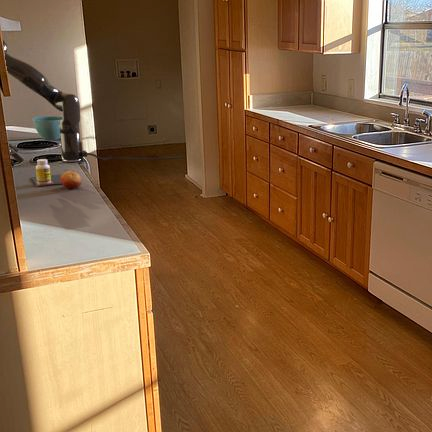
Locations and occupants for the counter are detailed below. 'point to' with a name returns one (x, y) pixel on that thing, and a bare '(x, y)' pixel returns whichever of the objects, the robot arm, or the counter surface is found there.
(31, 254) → the counter surface
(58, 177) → the corner mat
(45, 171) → the supplement bottle
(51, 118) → the plant pot
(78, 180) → the fruit
